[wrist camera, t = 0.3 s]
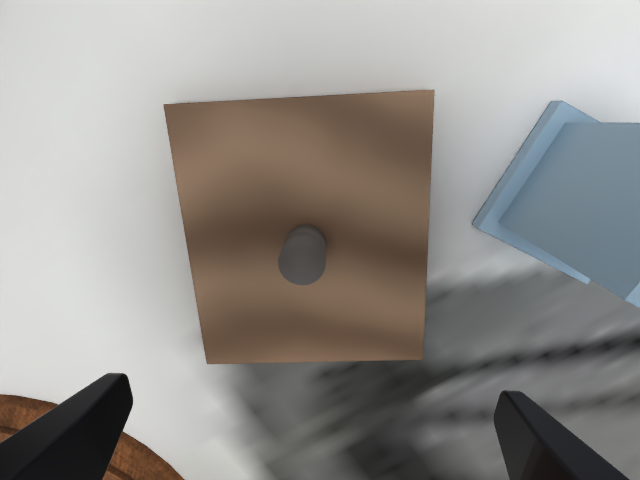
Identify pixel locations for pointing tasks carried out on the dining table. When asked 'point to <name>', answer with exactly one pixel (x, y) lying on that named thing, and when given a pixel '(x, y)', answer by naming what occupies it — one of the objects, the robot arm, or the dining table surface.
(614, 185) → the light blue square holder
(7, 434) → the cutting board
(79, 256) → the dining table surface
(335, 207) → the locating plate
